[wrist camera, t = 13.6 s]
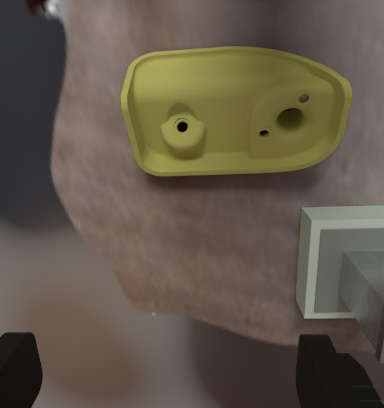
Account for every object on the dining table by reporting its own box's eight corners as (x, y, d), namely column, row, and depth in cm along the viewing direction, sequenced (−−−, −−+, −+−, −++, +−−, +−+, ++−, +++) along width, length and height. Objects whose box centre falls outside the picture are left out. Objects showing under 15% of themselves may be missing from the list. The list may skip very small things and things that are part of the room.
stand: (301, 207, 40) (312, 221, 36) (409, 204, 39) (433, 218, 35) (295, 298, 44) (304, 320, 40) (394, 296, 43) (414, 319, 39)
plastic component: (140, 177, 37) (116, 88, 30) (150, 137, 42) (132, 53, 35) (335, 170, 35) (358, 72, 28) (321, 129, 40) (338, 37, 33)
